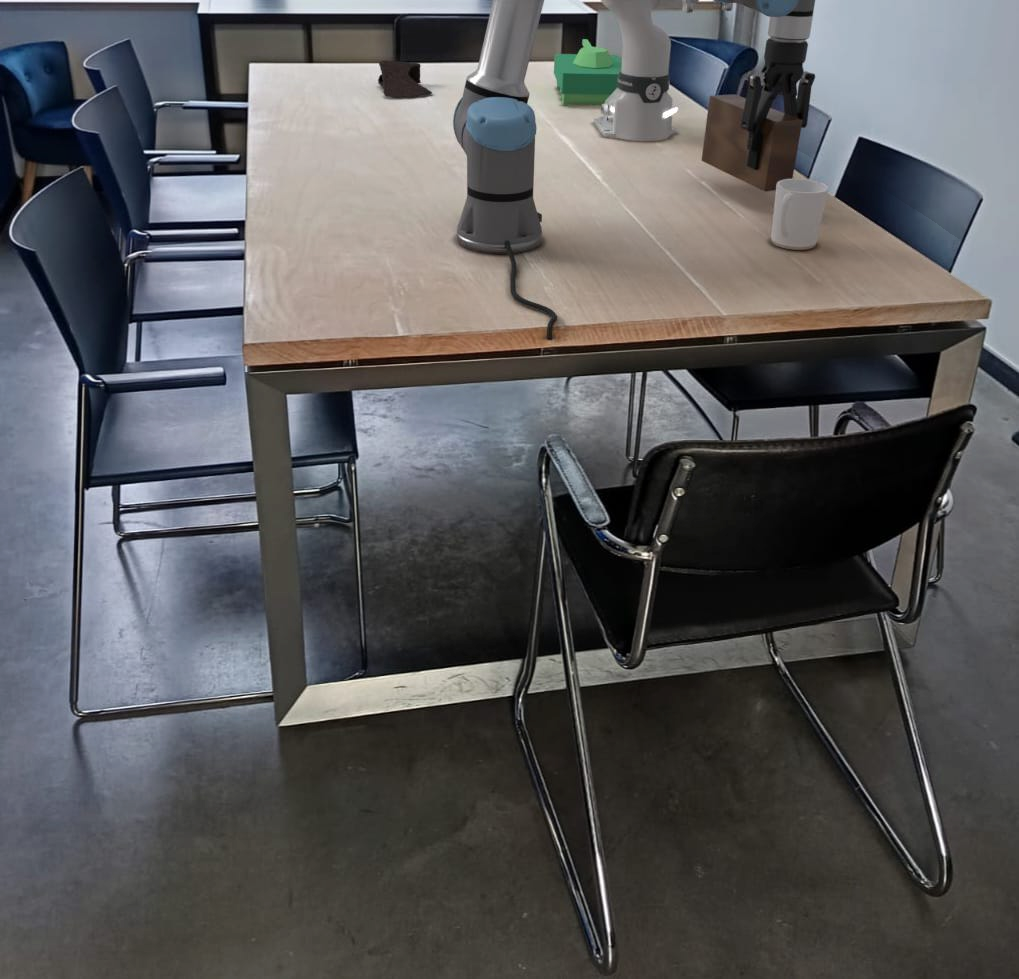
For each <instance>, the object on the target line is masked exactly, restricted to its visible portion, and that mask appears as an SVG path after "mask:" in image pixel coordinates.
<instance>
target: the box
mask: <svg viewBox="0 0 1019 979" xmlns="http://www.w3.org/2000/svg"><path fill="white" fill-rule="evenodd" d="M745 101H746V97H743V96H741V95H738V94H736V93H735V94H718V95H709V99H708V107H707V116H706V121H705V122H706V123H705V130H704V131H705V132H704V138H703V147H702V154H701V162H703V163H704V164H705V163H706V164H707V165H709V166H710V167H711V166H712V167H714V168H715V169H717V170H719V171H721V172H724V173H725V174H728V175H729V176H732V177H734V178H736V179H738V180H740V181H742V182H744V183H746V184H748V185H750V186H753V187H754V188H756V189H758V190H760V191H763V192H764V193H765V192H774V191H775V192H776V185H777V182H778V181H781V180H784V179H794V178H793V177H794V173H795V168H796V161H797V155H798V149H799V144H800V137H801V133H802V128H801V127H802V121H803V120H801V119H798V118H796V117H793V116H790V115H788V114H785V112H782V111H780V110H777V109H775V108H772V107H770V110H769V112H768V115H767V117H766V119H765V122H764V124H763V127H762V129H761V132H760V134H763V141H762V147H761V154H760V160H759V167H758V170H754V169H752V168H750V167H748V166H747V162H748V156H749V150H747V143H748V136H749V132H748V131H747V130H744V129H742V128H741V121H742V116H743V111H744V106H745Z"/></svg>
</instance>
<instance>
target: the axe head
mask: <svg viewBox="0 0 1019 979" xmlns="http://www.w3.org/2000/svg"><path fill="white" fill-rule="evenodd" d="M378 66H379V68H380V72H381V74H379V75H378V79H377V84H378V85H379V86H380V87H381V88H382V89H383V95H384V96H385V97H388V98H394V99H395V98H396V99H403V98H405V99H406V98H407V99H411V98H418V97H425V96H429V95H432V94H433V91H431V90H430V89H428V88H427V87H425V86H422V85H421V84H422V82H421V63H419V62H410V61H408V62H407V61H397V60H388V59H387V60H380V61H379V62H378Z"/></svg>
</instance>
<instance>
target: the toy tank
mask: <svg viewBox="0 0 1019 979" xmlns="http://www.w3.org/2000/svg"><path fill="white" fill-rule="evenodd" d="M581 41H582V42H581V44H582V46H583V47H581V48H580V49H579V50H578V52H577V53H554V57H553V60H554V61H553V75H554V77H555V80H556V88H557V89H559V92H560V94H561V103H562V106H601V105H602V104H605V101H606V99H607V98H608V97H609V96H610V95H611V94H612V93H613V92H614V91H615V90H616V89H617V86H616V85H617V79H618V76H619V72H621V67H622V58H620V57H619V55H618V54H610V52H609V50H608V49H607V48H604V47H598V46H592V44H591V42H590V41H589V39H587V38H586V39H585V38H583V39H582V40H581Z"/></svg>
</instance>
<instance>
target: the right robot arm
mask: <svg viewBox="0 0 1019 979" xmlns="http://www.w3.org/2000/svg"><path fill="white" fill-rule="evenodd" d="M699 1H700V0H600V2H601V3H602V4H603V6H604V7H606V8H607V9H608V10H609V11H610V12H611V14H612V15H613V16H614V18H615V19H616V22H617V24H618V26H619V30H620V35H621V61H622V67H621V72H619V76H618V79H617V85H616V86H617V89H616V90H615V91H614V92H613V93H612V94H611V95H610V96H609V97H608V98H607V99H606V101H605V104H602V105H600V113H601V114H602V115H603V116H601V117H596V118H594V120H593V124H594V126H595V127H596V128H597V130H598V131H599V133H600V134H601V136H602V137H605V138H610V139H611V138H612V139H613V138H614V139H619V140H626V141H633V142H635V141H636V142H655V141H663V140H665V139H668V138H670V136H672V135H674V134H676V133H677V128H676V127H673V114H675V113H677V111H678V107H674V108H673V102H674V101H673V97H672V96H671V95H670V94H669V92H668V91H669V90H670V84H671V74H670V73H669V69H670V61H671V60H670V59H671V48H672V42H671V38H670V36H669V35H668V33H667V31H665V30H664V29H663V28H660V27H659V26H657V25H656V24H654V22H653V20H652V10H675V9H681V8H682V9H681V11H682V13H685V14H691V13H693V11H694V5H695V4H697V3H698V2H699ZM721 5H722V6H721V10H722V11H724V12H731V11H732V12H733V8H734V3H729V4H726V3H723V2H721Z"/></svg>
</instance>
